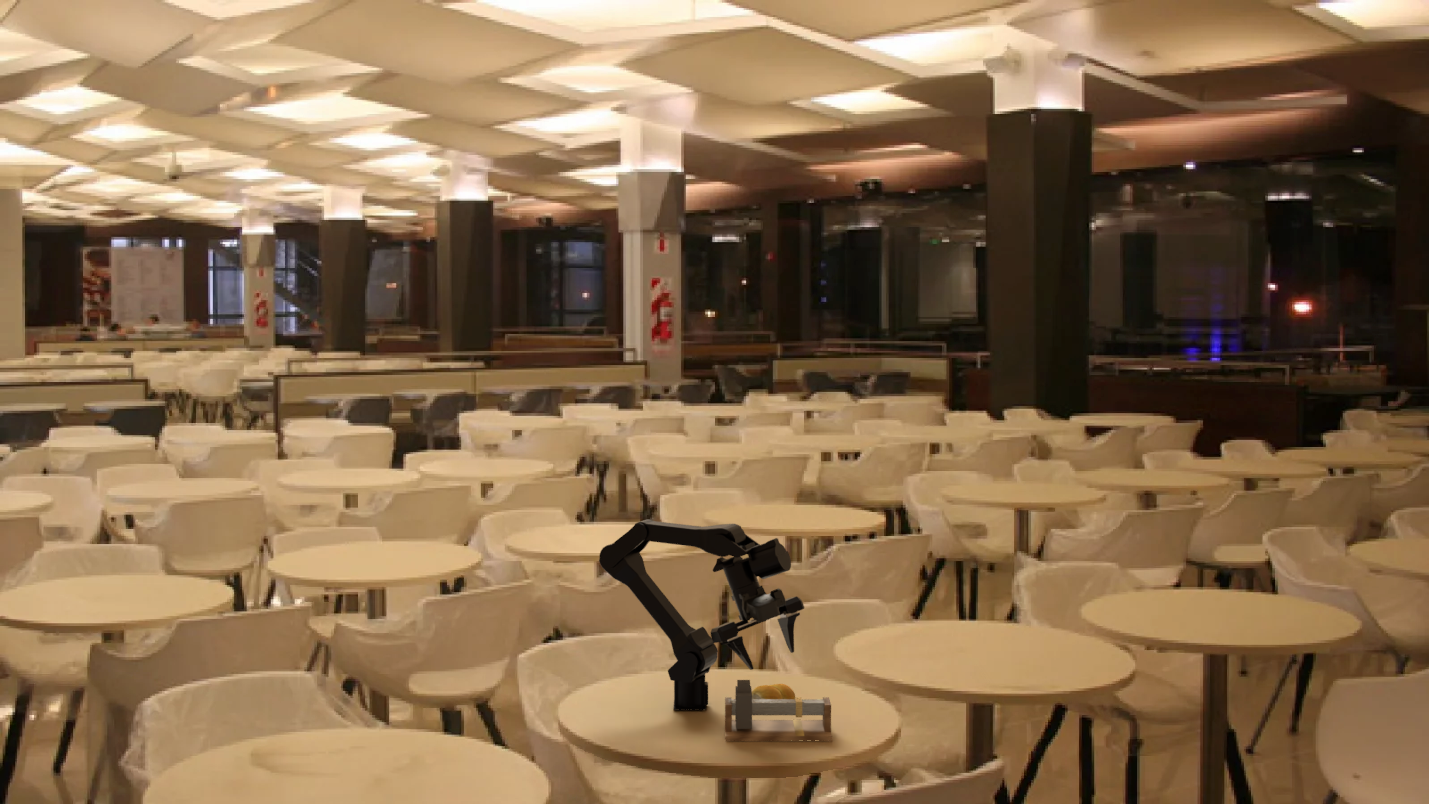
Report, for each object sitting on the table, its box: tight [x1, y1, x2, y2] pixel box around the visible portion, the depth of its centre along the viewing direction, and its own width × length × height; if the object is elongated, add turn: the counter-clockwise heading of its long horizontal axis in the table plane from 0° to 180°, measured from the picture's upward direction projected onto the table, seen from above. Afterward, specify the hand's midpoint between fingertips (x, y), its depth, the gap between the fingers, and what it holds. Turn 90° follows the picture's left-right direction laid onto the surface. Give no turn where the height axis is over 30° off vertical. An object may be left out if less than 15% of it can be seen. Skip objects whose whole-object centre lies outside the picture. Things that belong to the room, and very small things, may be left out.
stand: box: [724, 696, 833, 742], centre depth 277 cm, size 20×10×6 cm, turn 90°
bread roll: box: [752, 683, 796, 699], centre depth 297 cm, size 8×9×4 cm
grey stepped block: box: [734, 679, 753, 729], centre depth 277 cm, size 3×6×8 cm, turn 0°
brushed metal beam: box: [728, 696, 827, 718], centre depth 277 cm, size 19×3×3 cm, turn 90°
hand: (772, 660), depth 286 cm, fingers open, 9 cm apart
